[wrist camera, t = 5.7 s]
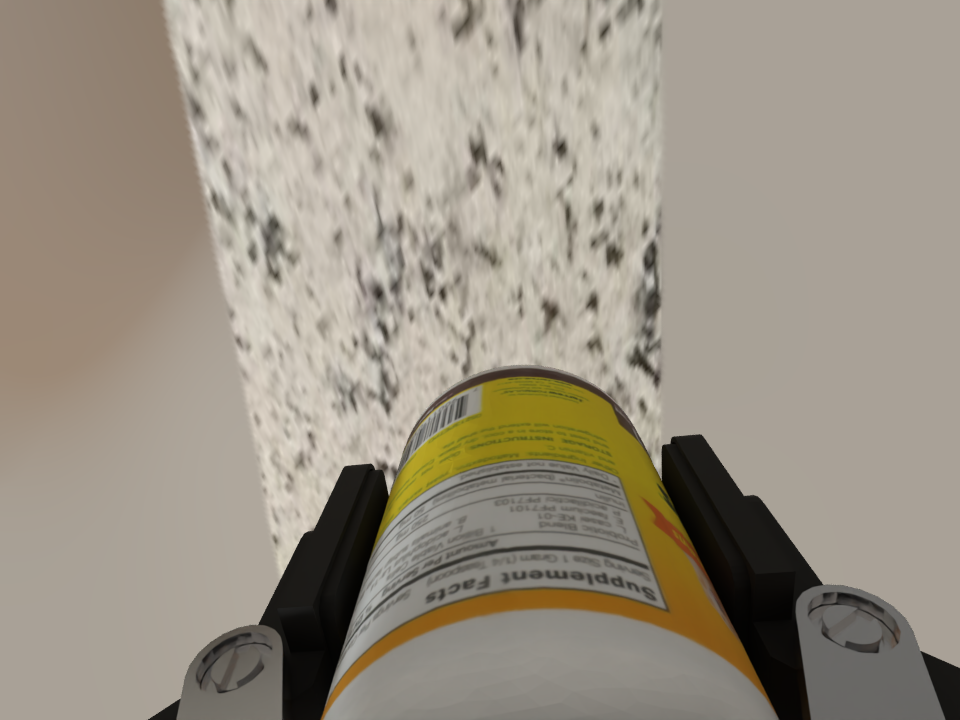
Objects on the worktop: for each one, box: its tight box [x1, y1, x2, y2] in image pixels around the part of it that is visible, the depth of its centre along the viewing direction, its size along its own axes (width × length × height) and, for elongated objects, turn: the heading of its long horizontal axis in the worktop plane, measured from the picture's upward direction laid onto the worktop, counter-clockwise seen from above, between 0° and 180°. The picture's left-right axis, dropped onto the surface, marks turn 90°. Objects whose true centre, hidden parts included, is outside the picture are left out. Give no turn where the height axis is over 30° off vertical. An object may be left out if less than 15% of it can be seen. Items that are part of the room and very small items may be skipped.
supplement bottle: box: [321, 365, 779, 720], centre depth 9 cm, size 6×6×10 cm
